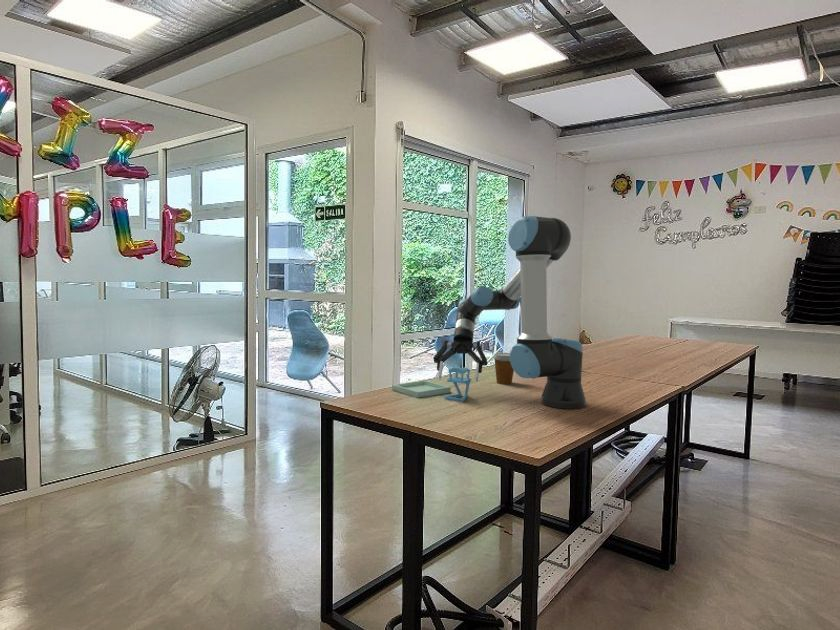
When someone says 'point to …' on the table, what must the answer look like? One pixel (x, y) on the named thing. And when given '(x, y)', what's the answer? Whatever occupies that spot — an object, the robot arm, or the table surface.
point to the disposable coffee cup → (503, 368)
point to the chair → (458, 380)
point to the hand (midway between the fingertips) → (457, 378)
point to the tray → (421, 388)
